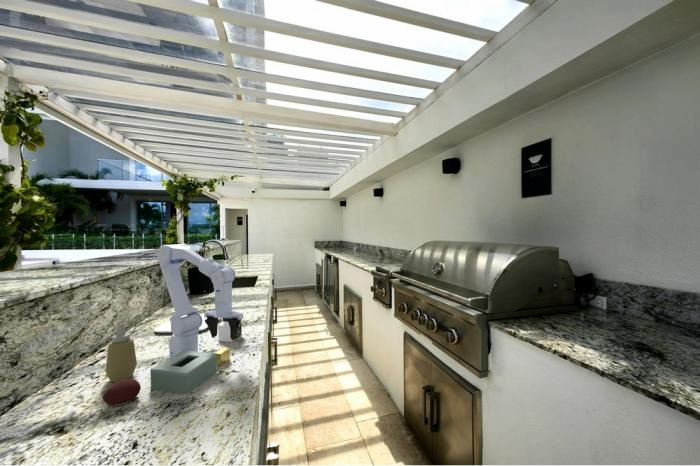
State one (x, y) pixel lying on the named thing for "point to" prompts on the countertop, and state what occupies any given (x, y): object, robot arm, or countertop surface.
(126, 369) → the squeeze bottle
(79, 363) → the countertop surface
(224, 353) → the gold rectangular block
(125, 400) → the potato
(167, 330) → the plate
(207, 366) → the box
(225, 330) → the medicine bottle
